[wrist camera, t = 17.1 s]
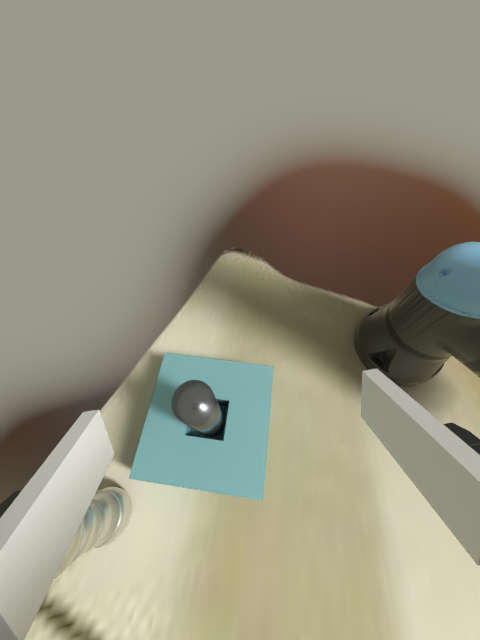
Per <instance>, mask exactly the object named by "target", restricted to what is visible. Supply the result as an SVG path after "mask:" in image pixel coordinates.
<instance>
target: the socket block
mask: <svg viewBox="0 0 480 640" xmlns="http://www.w3.org/2000/svg"><path fill="white" fill-rule="evenodd" d="M273 367H274V366H266V365H258V364H250V363H242V362H234V361H226V360H218V359H211V358H203V357H195V356H187V355H179V354H171V353H165V354H164V357H163V361H162V364H161V368H160V371H159V375H158V378H157V382H156V385H155V389H154V392H153V396H152V399H151V403H150V406H149V410H148V413H147V417H146V420H145V424H144V427H143V431H142V434H141V438H140V441H139V445H138V448H137V452H136V455H135V459H134V462H133V465H132V469H131V472H130V476H129V479H135V480H141V481H147V482H153V483H159V484H165V485H171V486H177V487H183V488H189V489H195V490H201V491H207V492H213V493H220V494H226V495H232V496H238V497H244V498H250V499H256V500H262V501H263V494H264V481H265V468H266V456H267V443H268V430H269V417H270V405H271V392H272V379H273ZM189 380H200V381H203V382H205V383H206V384H208V385H209V387H210V388H211V389H212V391H213V393H214V396H215V398H216V400H217V402H218V404H219V406H220V409H221V411H222V413H223V415H224V418H225V424H224V427H223V429H222V431H221V432H220V433H219V434H217V435H215V436H207V435H205V434H203V433H201V432H199V431H197V430H196V429H194V428H192V427H190V426H189V425H187V424H185V423H183V422H182V421H180V420H179V419H177V417H176V416H175V415H174V413H173V410H172V405H171V403H172V397H173V394H174V392H175V391H176V389H177V388H178V387H179V386H180V385H181V384H183V383H184V382H186V381H189Z"/></svg>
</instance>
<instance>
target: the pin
mask: <svg viewBox="0 0 480 640" xmlns="http://www.w3.org/2000/svg"><path fill="white" fill-rule="evenodd" d="M171 405H172V410H173V413H174V415H175V416H176V417H177V419H179V420H180V421H182V422H183V423H185V424H187V425H189V426H190V427H192V428H194V429H196V430H197V431H199V432H201V433H203V434H205V435H207V436H215V435H217V434H219V433H220V432H221V431H222V429H223V427H224V424H225V418H224V415H223V413H222V411H221V409H220V406H219V404H218V402H217V400H216V398H215V396H214V393H213V391H212V389H211V388H210V387H209V385H208V384H206V383H205V382H203V381H200V380H189V381H186V382H184V383H183V384H181V385H180V386H179V387H178V388H177V389H176V391H175V392H174V394H173V397H172V403H171Z"/></svg>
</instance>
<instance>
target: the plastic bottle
mask: <svg viewBox="0 0 480 640" xmlns="http://www.w3.org/2000/svg"><path fill="white" fill-rule="evenodd" d="M131 512H132V503H131V499H130V496H129V495H128V493H127V492H126V491H125V490H123V489H121V488H118V487H106V488H103V489H101V490H99V491H97V492H96V493H95V495H94V497H93V499H92V501H91V503H90V505H89V507H88V509H87V512H86V514H85V516H84V518H83V520H82V522H81V524H80V526H79V528H78V530H77V532H76V534H75V536H74V538H73V540H72V542H71V544H70V546H69V549H68V551H67V553H66V555H65V557H64V559H63V561H62V563H61V565H60V567H59V569H58V571H57V573H56V575H55V577H54V579H55V578H56V577H57V576H58V575H60V574H61V573H62V572H63V571H64V570H65V569H66V568H67V567H68V566H69V565H71V564H72V563H73V562H74V561H75V560H76V559H77V558H78V557H80V556H81V555H82V554H84V553H85V552H86V551H88V550H90V549H93V548H98V547H102V546H105V545H107V544H109V543H111V542H112V541H114V540H115V539H116V538H117V537H118V536H119V535H120V534H121V533H122V532H123V530H124V529H125V528H126V526H127V524H128V522H129V519H130V517H131Z"/></svg>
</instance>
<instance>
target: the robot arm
mask: <svg viewBox="0 0 480 640" xmlns="http://www.w3.org/2000/svg"><path fill="white" fill-rule="evenodd" d="M354 342H355V347H356V351H357V353H358V355H359V357H360V359H361V361H362V362H363V363H364V365H365V366H366V367H367V368H368V369H369V370H364V371H362V397H361V417H362V418H363V419H364V421H365V422H366V423H367V425H368V426H369V427H370V428H371V430H372V431H373V432H374V433H375V435H376V436H377V437H378V439H379V440H380V441H381V442H382V444H383V445H384V446H385V448H386V449H387V450H388V451H389V453H390V454H391V455H392V456H393V458H394V459H395V460H396V462H397V463H398V464H399V465H400V467H401V468H402V469H403V470H404V472H405V473H406V474H407V476H408V477H409V478H410V479H411V481H412V482H413V483H414V485H415V486H416V487H417V488H418V490H419V491H420V492H421V493H422V495H423V496H424V497H425V499H426V500H427V501H428V502H429V504H430V505H431V506H432V508H433V509H434V510H435V511H436V513H437V514H438V515H439V516H440V518H441V519H442V520H443V522H444V523H445V524H446V525H447V527H448V528H449V529H450V531H451V532H452V533H453V534H454V536H455V537H456V538H457V539H458V541H459V542H460V543H461V545H462V546H463V547H464V548H465V550H466V551H467V552H468V554H469V555H470V556H471V557H472V559H473V560H474V561H475V562H476V564H477V565H480V439H478V438H477V437H476V436H475V435H473V434H472V433H471V432H470V431H468V430H466V429H464V428H462V427H460V426H458V425H456V424H454V423H448V424H442V423H441V422H440V421H439V420H438V419H436V418H435V417H434V416H433V415H432V414H430V413H429V412H428V411H427V410H426V409H425V408H423V407H422V406H421V405H420V404H419V403H417V402H416V401H415V400H414V399H413V398H411V397H410V396H409V395H408V394H407V393H406V392H404V391H403V390H402V389H401V388H400V387H398V386H397V385H403V386H411V385H417V384H420V383H422V382H425V381H427V380H429V379H431V378H433V377H434V376H435V375H436V374H438V372H439V371H440V370H441V369H442V367H443V365H444V363H445V362H446V361H447V360H448V359H449V357H450V356H454V357H455V358H456V359H457V360H459V361H460V362H461V363H463V364H464V365H465V366H466V367H468V368H469V369H470V370H471V371H473V372H474V373H475V374H476V375H478V376H479V377H480V242H467V243H461V244H457V245H454V246H452V247H450V248H448V249H446V250H444V251H443V252H441V253H440V254H439V255H438V256H437V257H436V258H435V259H434V260H433V261H431V262H430V263H429V264H427V265H425V266H424V267H423V268H422V269H421V270H420V271H419V273H418V275H417V277H416V278H415V279H414V280H413V281H412V282H411V283H410V284H409V285H408V286H407V287H406V288H405V289H404V290H403V291H402V292H401V293H400V294H399V295H398V296H397V297H396V298H395V299H394V300H393V302H392V303H389V304H387V305H384V306H382V307H379V308H377V309H374V310H372V311H371V312H369V313H368V314H367V315H366V316H365V317H364V318H363V319H362V320H361V321H360V323H359V324H358V326H357V328H356V330H355V335H354ZM396 384H397V385H396ZM113 456H114V451H113V448H112V445H111V443H110V440H109V437H108V434H107V431H106V428H105V425H104V422H103V420H102V417H101V414H100V411H99V410H94V411H87V412H83V413H82V414H81V415H80V417H79V418H78V419H77V421H76V422H75V423H74V425H73V426H72V427H71V428H70V430H69V431H68V432H67V433H66V435H65V436H64V438H63V439H62V440H61V441H60V442H59V444H58V445H57V446H56V448H55V449H54V450H53V451H52V453H51V454H50V455H49V456H48V458H47V459H46V461H45V462H44V463H43V464H42V466H41V467H40V468H39V469H38V470H37V472H36V473H35V474H34V476H33V477H32V478H31V479H30V481H29V482H28V483H27V485H26V486H25V487H24V489H23V490H22V491H17V492H14V493H13V494H12V495H11V496H10V497H8V498H7V499H6V500H5V501H4V502H3V503H1V504H0V640H24V639H25V637H26V635H27V633H28V631H29V629H30V627H31V625H32V623H33V621H34V618H35V616H36V614H37V612H38V610H39V608H40V606H41V604H42V602H43V600H44V598H45V596H46V594H47V592H48V590H49V588H50V586H51V584H52V581H53V579H54V577H55V575H56V573H57V571H58V569H59V567H60V565H61V563H62V561H63V559H64V557H65V555H66V553H67V551H68V549H69V546H70V544H71V542H72V540H73V538H74V536H75V534H76V532H77V530H78V528H79V526H80V524H81V522H82V520H83V518H84V516H85V514H86V512H87V509H88V507H89V505H90V503H91V501H92V499H93V497H94V495H95V493H96V491H97V489H98V487H99V485H100V483H101V481H102V479H103V477H104V475H105V472H106V470H107V468H108V466H109V464H110V462H111V460H112V458H113Z"/></svg>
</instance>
